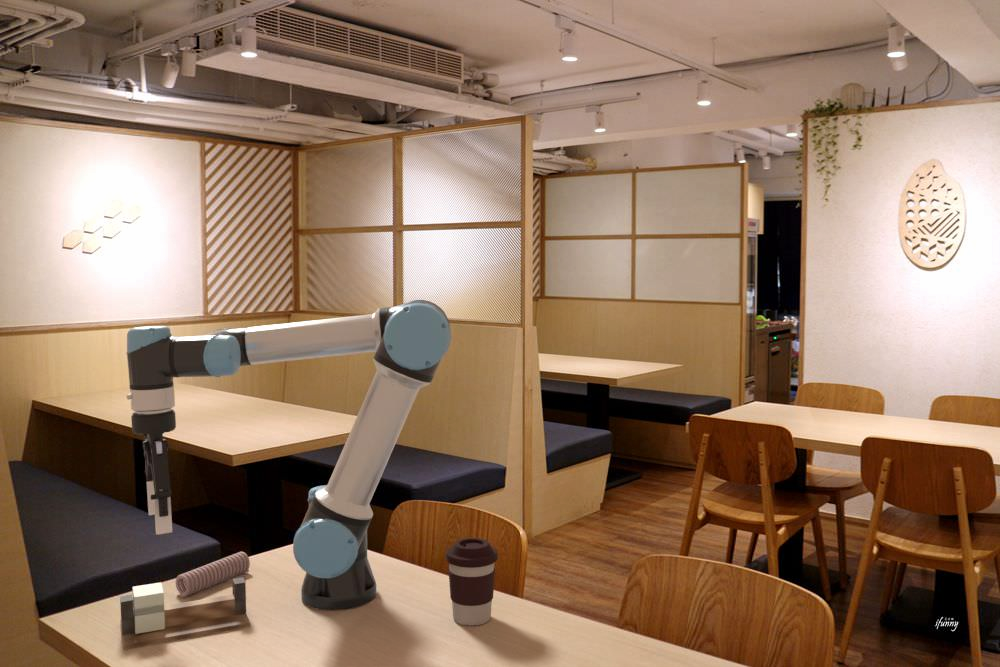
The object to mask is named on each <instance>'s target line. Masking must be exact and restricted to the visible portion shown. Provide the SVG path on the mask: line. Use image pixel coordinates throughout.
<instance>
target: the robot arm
mask: <svg viewBox="0 0 1000 667" xmlns="http://www.w3.org/2000/svg"><path fill="white" fill-rule="evenodd" d="M451 333H452V332H451V326H450V320H449V318H448V316H447V314H446V312H445V311H444V310H443V309H442V308H441V306H439V305H437V304H436V303H433V302H432V301H430V300H425V299H415V300H411V301H408V302H405V303H402V304H398V305H393V306H392V305H391V306H387V307H379V308H377V310H376V311H375V312H374V313H371V314H370V313H368V314H361V315H360V314H359V315H351V316H344V317H343V316H342V317H341V316H340V317H332V318H325V319H324V318H323V319H314V320H305V321H295V322H287V323H276V324H266V325H257V326H249V327H239V328H230V327H229V328H228V327H227V328H221V329H217V330H215V331H213V332H210V333H207V334H204V335H203V334H202V335H193V336H176V335H175V336H174V335H173V336H172V333H171V328H170V327H169V326H168V325H167V326H166V325H147V326H138V327H137V326H136V327H132V328H130V329H128V332H127V333H126V334H127V335H126V356H127V358H126V359H127V370H128V380H129V381H128V383H129V392H130V393H129V394H126V399H127V400H130V410H132V411H133V413H132V414H130V415H131V431H132V433H133V434H134V435H139V436H140V435H141V436H144V441H142V449H143V456H144V459H145V460H144V461H145V462H144V464H145V466H144V467H145V468H144V469H145V470H144V474H145V479H146V493H147V494H146V495H147V510H148V516H154V522H155V535H163V534H169V533H170V534H171V533H173V520H172V519H173V518H172V516H173V515H172V500H171V497H172V495H173V494H172V493H173V491H172V489H171V479H170V471H169V455H168V450H169V442H168V441H167V440H166V438H164V433H170V432H173V431H174V430H175V429H176V427H177V423H176V411H175V410H174V409H173V408H174V407H175V406H176V398H175V396H176V395H175V385H174V378H193V377H194V378H198V377H201V378H202V377H204V378H205V377H215V378H220V377H226V376H233V375H236V374H237V373H238V371H239V369H240V367H246V366H252V365H262V364H270V363H272V364H273V363H281V362H291V361H299V360H308V359H309V360H311V359H319V358H327V357H328V358H329V357H338V356H339V357H340V356H349V355H357V354H366V353H375V354H374V356H373V358H372V361H373V363H374V365H375V369H376V372H375V375H374V376H373V379H372V381H371V383H370V385H369V388H368V391H367V392H366V395H365V398H364V400H363V402H362V404H361V406H360V409H359V411H358V414H357V416H356V419H355V420H354V423H353V425H352V427H351V430H350V433H348V434H349V435H348V437H347V439H346V441H345V443H344V446H343V448H342V450H341V452H340V454H339V457H338V460H337V462H336V464H335V467H334V469H333V471H332V473H331V476H330V478H329V480H328V483H327V484H325V485H318V486H315V487H312V488H310V490H309V491H308V498H307V502H308V508H307V511H306V512H305V514H304V515H305V516H304V518H303V520H302V521H301V522H302V523H301V524H300V526H299V528H297V530H296V531H295V534H294V537H293V541H292V542H293V543H292V544H293V545H292V551H293V557H294V559H295V561H296V563H297V565H298V567H300V568H301V569H302V570H303V571H304V572H305V575H304V579H303V582H302V584H301V585H302V586H301V596H300V597H301V602H302V603H303V604H304V605H305V606H307V607H310V608H312V609H315V610H322V611H343V610H350V609H355V608H358V607H362V606H365V605H366V604H368V603H370V602H372V601H373V600H374V599H375V598H376V597H377V582H376V579H375V577H374V576H375V575H374V573H373V570H372V568H371V564H370V562H369V559H368V528H369V525H370V524H371V521H372V518H373V516H374V512H373V510H372V508H371V505H370V503H371V501H372V499H373V496H374V495H375V494H374V493H375V492H376V489H377V487H378V485H379V483H380V480H381V478H382V476H383V473H384V471H385V469H386V466H387V465H388V462H389V459H390V457H391V454H392V453H393V450H394V448H395V446H396V444H397V441H398V439H399V437H400V434H401V432H402V429H403V427H404V425H405V423H406V420H407V418H408V416H409V414H410V411H411V409H412V406H413V405H414V403H415V400H416V398H417V395H418V393H419V390H421V388H425V387H426V386H429V385H431V384H432V381H433V379H434V377H435V375H436V372H437V370H438V368H439V365H440V363H441V361H442V359H443V357H444V356H445V355H446V353H447V351H448V349H449V347H450V343H451V339H452V338H451V337H452V334H451Z"/></svg>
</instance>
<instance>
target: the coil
mask: <svg viewBox="0 0 1000 667" xmlns="http://www.w3.org/2000/svg"><path fill="white" fill-rule="evenodd" d="M250 566H251V561H250V558H249V556H248V554H247V553H246V552H244V551H239V552H236V553H233V554H231V555H228V556H225V557H222V558H221V559H218V560H215V561H213V562H210V563H207V564H205V565H202V566H199V567H197V568H194V569H191V570H190V571H186V572H183V573H181V574H178V575H177V576H176V578H175V587H176V590H177V592H178V593H179V596H178V598H186V597H188V596H189V597H190V596H192V595H194V594H195V593H198V592H201V591H204V590H206V589H208V588H210V587H213V586H215V585H217V584H221V583H222V582H225V581H227V580H230V579H233V578H235V577H238V576H240V575H243V574H245V573H247V572H249V571H250V570H249V569H250Z"/></svg>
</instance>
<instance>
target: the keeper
mask: <svg viewBox="0 0 1000 667" xmlns="http://www.w3.org/2000/svg"><path fill="white" fill-rule="evenodd" d="M164 593H165V592H164V588H163V584H162V582H161V581H160V582H154V583H148V584H142V585H141V584H140V585H136V586H135V585H134V586H132V598H133V611H134V614H135V634H139V633H145V632H150V631H156V630H162V629H165V615H164V606H165V594H164Z"/></svg>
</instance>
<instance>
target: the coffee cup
mask: <svg viewBox="0 0 1000 667" xmlns="http://www.w3.org/2000/svg"><path fill="white" fill-rule="evenodd" d="M498 554H499V553H498V549H497V548H496V547H494V546H493V545H491V544H490V542H489V541H488V540H486V539H484V538H479V537H466V538H459V539H457V540H456V541H455V542H453V545H452V546H450V547H448V548H447V549H446V551H445V560H446V562H447V563H448V564H449V566H448V580H449V594H450V596H449V597H450V600H451V607H452V618H453V620H454V621H455V622H456V623H457V624H459V625H462V626H467V625H468V627H474V625H476V626H480V625H481V626H482V625H484V624H486V623H487V622H489V621H490V619H491V617H492V603H493V598H494V592H495V591H494V590H495V579H496V578H495V574H496V568H495V563H497V560H498V559H499V555H498Z"/></svg>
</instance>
